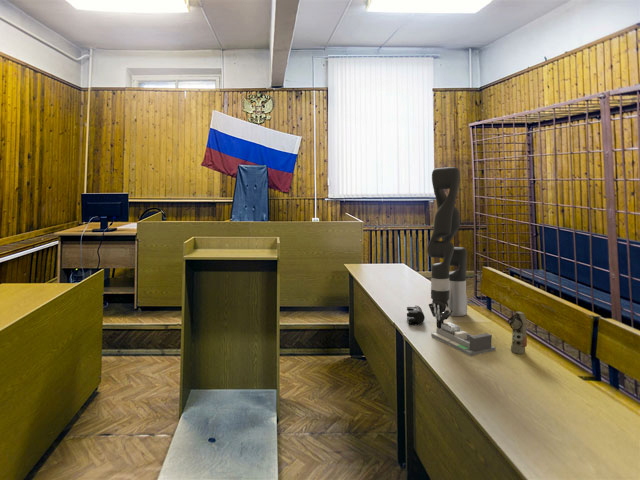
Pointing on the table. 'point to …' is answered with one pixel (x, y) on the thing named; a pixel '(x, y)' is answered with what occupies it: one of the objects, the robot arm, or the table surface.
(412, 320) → the end cap
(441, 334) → the gauge board
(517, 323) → the grenade model
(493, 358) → the table surface
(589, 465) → the table surface
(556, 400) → the table surface
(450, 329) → the grey textured block
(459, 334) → the white upright block
